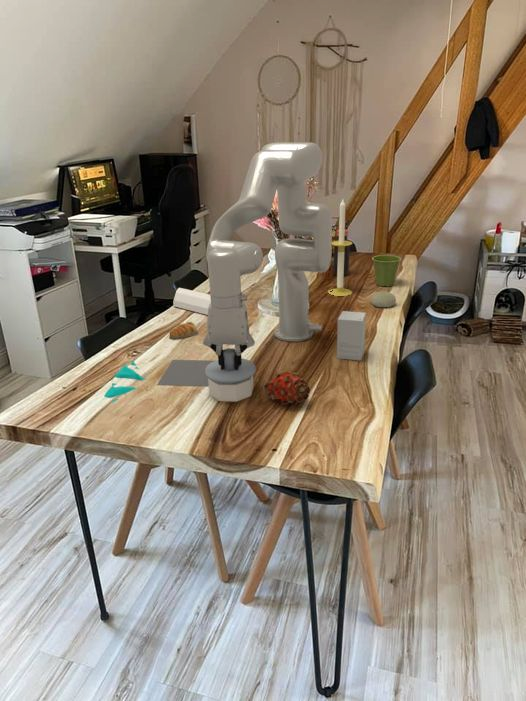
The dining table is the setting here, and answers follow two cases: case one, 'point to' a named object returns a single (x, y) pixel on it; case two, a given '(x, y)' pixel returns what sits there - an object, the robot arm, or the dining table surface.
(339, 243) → the candle
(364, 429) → the dining table surface
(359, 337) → the supplement box
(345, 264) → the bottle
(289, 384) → the dragon fruit
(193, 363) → the mat
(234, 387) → the bowl
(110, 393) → the cloth
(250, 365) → the lid
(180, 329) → the pastry
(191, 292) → the crystal
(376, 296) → the sea urchin shell
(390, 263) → the plant pot
